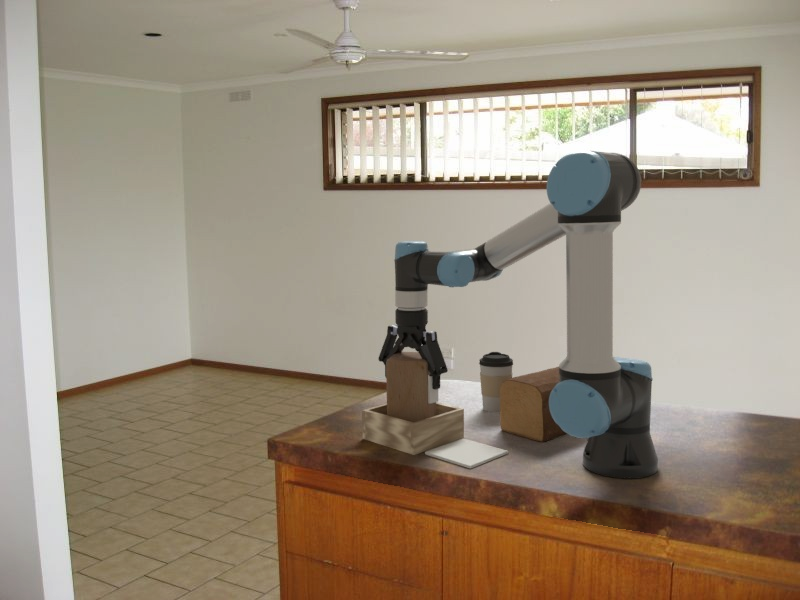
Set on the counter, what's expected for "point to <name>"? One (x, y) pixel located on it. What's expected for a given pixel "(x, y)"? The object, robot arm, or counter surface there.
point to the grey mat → (466, 453)
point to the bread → (529, 405)
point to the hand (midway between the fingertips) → (411, 397)
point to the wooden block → (408, 387)
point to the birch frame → (413, 429)
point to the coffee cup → (494, 378)
